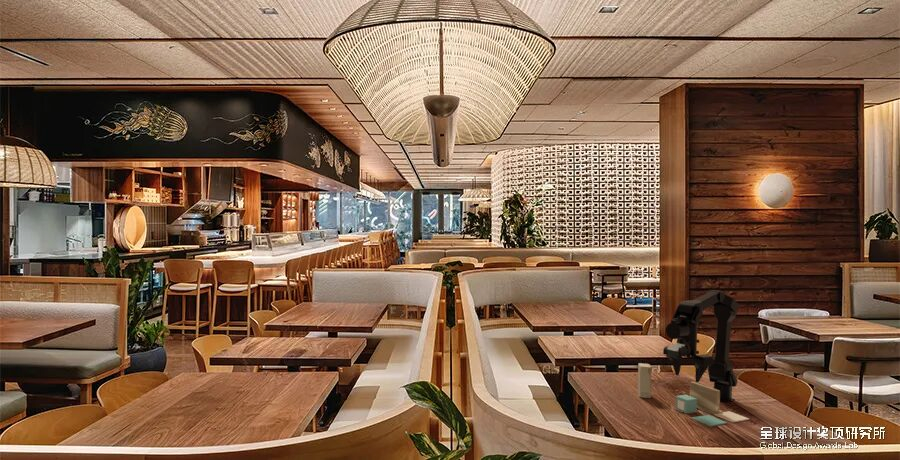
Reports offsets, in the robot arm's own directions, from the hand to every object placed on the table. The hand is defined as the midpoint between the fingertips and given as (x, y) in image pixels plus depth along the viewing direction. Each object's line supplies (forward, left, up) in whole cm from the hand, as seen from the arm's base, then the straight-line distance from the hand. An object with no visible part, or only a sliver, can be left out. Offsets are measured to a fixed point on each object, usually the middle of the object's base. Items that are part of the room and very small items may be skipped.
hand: (687, 378), depth 203 cm
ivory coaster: (-10, +11, -12) cm, 19 cm away
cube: (0, 0, -12) cm, 12 cm away
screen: (-8, +1, -12) cm, 14 cm away
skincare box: (+2, -19, -12) cm, 23 cm away
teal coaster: (+1, +11, -12) cm, 16 cm away
